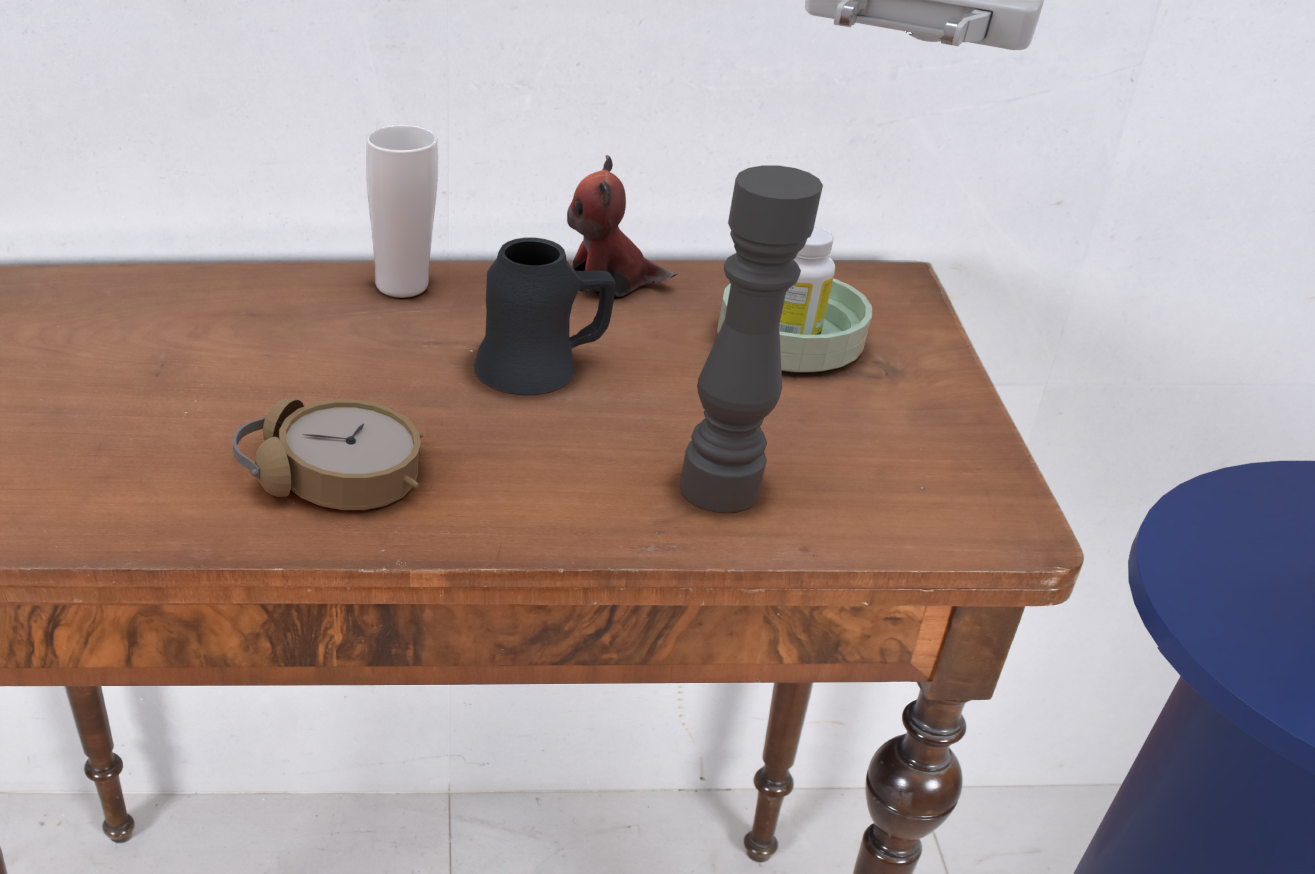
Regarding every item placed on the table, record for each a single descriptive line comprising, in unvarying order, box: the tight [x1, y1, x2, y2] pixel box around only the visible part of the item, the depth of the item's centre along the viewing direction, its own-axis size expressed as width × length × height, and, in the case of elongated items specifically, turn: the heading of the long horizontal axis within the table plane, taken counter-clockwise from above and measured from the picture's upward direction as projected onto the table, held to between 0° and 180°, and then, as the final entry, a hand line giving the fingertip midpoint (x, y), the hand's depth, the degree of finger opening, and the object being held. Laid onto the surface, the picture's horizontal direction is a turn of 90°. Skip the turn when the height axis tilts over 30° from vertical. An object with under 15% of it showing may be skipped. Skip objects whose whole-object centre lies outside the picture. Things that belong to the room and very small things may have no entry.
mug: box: [473, 236, 615, 395], centre depth 113 cm, size 12×9×11 cm
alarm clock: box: [232, 397, 424, 511], centre depth 103 cm, size 11×5×15 cm
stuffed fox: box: [566, 154, 679, 297], centre depth 124 cm, size 8×11×12 cm
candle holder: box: [679, 164, 824, 513], centre depth 94 cm, size 6×6×25 cm
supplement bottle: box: [779, 226, 836, 335], centre depth 116 cm, size 5×5×10 cm
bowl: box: [716, 277, 873, 373], centre depth 119 cm, size 13×13×4 cm
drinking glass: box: [365, 124, 439, 299], centre depth 123 cm, size 7×7×15 cm
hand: (896, 25), depth 111 cm, fingers open, 8 cm apart
